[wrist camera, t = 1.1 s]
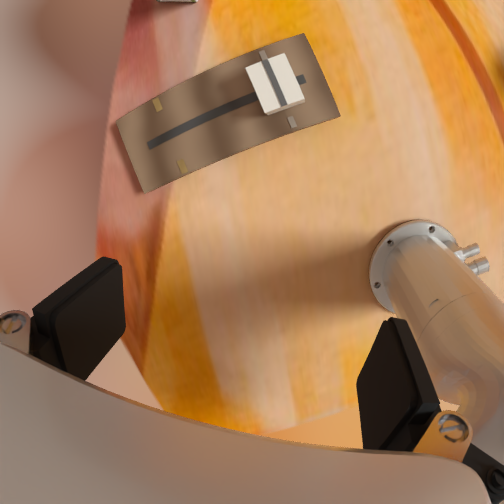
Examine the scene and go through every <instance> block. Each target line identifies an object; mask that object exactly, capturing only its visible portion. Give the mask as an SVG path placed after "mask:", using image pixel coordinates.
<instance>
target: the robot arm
mask: <svg viewBox="0 0 504 504" xmlns="http://www.w3.org/2000/svg"><path fill="white" fill-rule="evenodd" d="M429 227H431V228H430V229H429ZM388 240H391V241H390V242H389V243H388ZM479 253H480V250H479V246H478V244H477V243H474V244H472V245H469V246H467V247H465V248H461V247H459V246H458V244H457V242H456V240H455V238H454V237H453V236H452V235H451V233H450V232H449V231H448V230H446V229H445V228H444V227H442V226H441V225H439V224H437V223H435V222H432V221H428V220H414V221H409V222H406V223H403V224H401V225H399V226H397V227H395V228H394V229H392V230H391V231H390V232H389V233H387V234H386V235H385V236H384V238H383V239H382V240H381V241H380V242H379V244H378V245H377V247H376V249H375V250H374V253H373V255H372V258H371V261H370V267H369V280H370V285H371V288H372V291H373V294H374V295H375V297H376V299H377V301H378V302H379V303H380V304H381V305H382V306H383V307H384V308H386V309H387V310H388V311H391V312H393V313H395V314H396V316H397V318H393V317H390V318H389V319H388V321H386V320H385V321H383V323H382V325H381V327H380V330H379V332H378V334H377V337H376V339H375V341H374V344H373V346H372V348H371V350H370V353H369V355H368V357H367V359H366V361H365V363H364V366H363V368H362V370H361V372H360V374H359V376H358V379H357V384H356V387H357V395H358V403H359V411H360V421H361V431H362V440H363V449H355V448H344V447H334V446H325V445H316V444H308V443H301V442H294V441H286V440H281V439H275V438H269V437H264V436H259V435H254V434H249V433H244V432H240V431H235V430H231V429H227V428H222V427H218V426H214V425H210V424H207V423H203V422H199V421H195V420H192V419H188V418H185V417H182V416H178V415H175V414H172V413H169V412H165V411H162V410H159V409H156V408H153V407H150V406H147V405H144V404H142V403H139V402H136V401H133V400H131V399H128V398H125V397H123V396H120V395H118V394H115V393H112V392H110V391H107V390H105V389H103V388H100V387H98V386H95V385H93V384H91V383H89V382H86V381H85V380H86V379H87V378H88V376H89V375H90V374H91V373H92V371H93V370H94V369H95V368H96V366H97V365H98V364H99V363H100V362H101V360H102V359H103V358H104V357H105V355H106V354H107V353H108V352H109V350H110V349H111V348H112V347H113V346H114V344H115V343H116V342H117V341H118V339H119V338H120V337H121V336H122V335H123V333H124V331H125V327H126V323H125V310H124V296H123V277H122V266H121V265H119V263H118V261H117V260H115V259H111V258H107V257H101V258H100V259H98V260H97V261H95V262H94V263H93V264H91V265H90V266H88V267H87V268H86V269H84V270H83V271H81V272H80V273H79V274H77V275H76V276H74V277H73V278H72V279H70V280H69V281H68V282H66V283H65V284H64V285H62V286H61V287H60V288H58V289H57V290H56V291H54V292H53V293H52V294H51V295H49V296H48V297H47V298H45V299H44V300H43V301H41V302H40V303H39V304H37V305H36V306H35V307H34V308H33V309H32V310H33V314H34V316H33V317H31V318H30V317H29V315H28V314H27V313H25V312H23V311H19V310H13V311H8V312H5V313H3V314H1V315H0V504H504V303H503V302H502V301H501V300H500V299H499V298H498V297H497V296H496V295H495V294H494V292H493V291H492V290H491V289H490V288H489V287H488V286H487V285H486V284H485V283H484V282H483V281H482V280H481V279H480V278H479V277H478V276H477V275H480V274H482V273H485V272H487V271H489V262H488V260H487V258H486V257H481V258H479V259H476V260H474V261H473V262H471V263H468V264H466V263H465V262H464V261H465V258H468V257H472V256H475V255H477V254H479ZM376 282H378V283H376ZM375 283H376V284H375ZM438 398H439V399H440V400H443V401H445V402H448V403H452V404H456V405H460V406H459V408H458V410H457V411H456V412H455V411H450V410H446V411H441V409H440V406H439V404H440V402H439V399H438Z"/></svg>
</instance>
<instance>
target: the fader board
mask: <svg viewBox="0 0 504 504" xmlns="http://www.w3.org/2000/svg"><path fill="white" fill-rule="evenodd" d="M283 53H285V55H286V57H287V59H288V62H289V64H290V66H291V68H292V70H293V73H294V75H295V77H296V79H297V82H298V84H299V86H300V89H301V91H302V93H303V96H304V98H305V102H304V103H301V104H298V105H296V106H293V107H290V108H287V109H284V110H281V111H279V112H276V113H273V114H271V115H267V114H265V113H264V110H263V108H262V105H261V103H260V101H259V98H258V96H257V94H256V91H255V89H254V87H253V84H252V82H251V80H250V77H249V75H248V73H247V71H246V67H248V66H251V65H253V64H256V63H258V62H261V61H263V60H265V59H269V58H272V57H274V56H277V55H280V54H283ZM338 117H340V113H339V111H338V108H337V105H336V103H335V101H334V98H333V96H332V93H331V91H330V88H329V86H328V84H327V81H326V79H325V77H324V74H323V72H322V70H321V68H320V66H319V63H318V61H317V59H316V57H315V55H314V53H313V50H312V48H311V46H310V44H309V42H308V40H307V38H306V36H305V34H304V33H303V34H300V35H296V36H293V37H290V38H287V39H284V40H281V41H278V42H276V43H273V44H270V45H267V46H264V47H262V48H259V49H257V50H254V51H251V52H249V53H246V54H244V55H241V56H239V57H237V58H234V59H232V60H230V61H227V62H225V63H223V64H220V65H218V66H216V67H214V68H212V69H209V70H207V71H205V72H203V73H201V74H199V75H197V76H195V77H193V78H191V79H189V80H187V81H185V82H183V83H181V84H179V85H177V86H175V87H173V88H171V89H169V90H168V91H166V92H164V93H162V94H160V95H158V96H157V97H155V98H153V99H151V100H150V101H148V102H146V103H144V104H143V105H141V106H139V107H138V108H136V109H134V110H133V111H131V112H129V113H128V114H126V115H125V116H123V117H121V118H120V119H118V120H117V121H116V124H117V127H118V129H119V132H120V135H121V137H122V140H123V142H124V145H125V148H126V150H127V153H128V155H129V158H130V160H131V163H132V165H133V168H134V170H135V173H136V175H137V177H138V180H139V182H140V185H141V187H142V189H143V192H144V194H146V193H148V192H150V191H153V190H155V189H157V188H159V187H161V186H163V185H165V184H168V183H170V182H172V181H174V180H176V179H178V178H181V177H183V176H185V175H187V174H190V173H192V172H194V171H196V170H199V169H201V168H203V167H206V166H208V165H210V164H213V163H215V162H217V161H220V160H222V159H225V158H227V157H229V156H232V155H234V154H237V153H239V152H242V151H244V150H247V149H249V148H252V147H255V146H257V145H260V144H262V143H265V142H268V141H271V140H273V139H276V138H279V137H281V136H284V135H287V134H290V133H293V132H295V131H298V130H301V129H304V128H307V127H310V126H313V125H316V124H319V123H322V122H325V121H328V120H332V119H335V118H338Z"/></svg>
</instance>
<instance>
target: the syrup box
mask: <svg viewBox="0 0 504 504" xmlns="http://www.w3.org/2000/svg"><path fill="white" fill-rule="evenodd" d="M157 1H158V2H197V1H198V0H157Z"/></svg>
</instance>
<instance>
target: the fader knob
mask: <svg viewBox="0 0 504 504" xmlns="http://www.w3.org/2000/svg"><path fill="white" fill-rule="evenodd" d="M246 71H247V73H248V75H249V77H250V80H251V82H252V84H253V87H254V89H255V91H256V94H257V96H258V98H259V101H260V103H261V105H262V108H263V110H264V113H265V114H267V115H271V114H273V113H276V112H279V111H281V110H284V109H287V108H290V107H293V106H296V105H298V104H301V103H304V102H305V98H304V96H303V93H302V91H301V89H300V86H299V84H298V82H297V79H296V77H295V75H294V73H293V70H292V68H291V66H290V64H289V62H288V59H287V57H286V55H285V53H283V54H280V55H277V56H274V57H272V58H269V59H265V60H263V61H261V62H258V63H256V64H253V65H251V66H248V67H246Z"/></svg>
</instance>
